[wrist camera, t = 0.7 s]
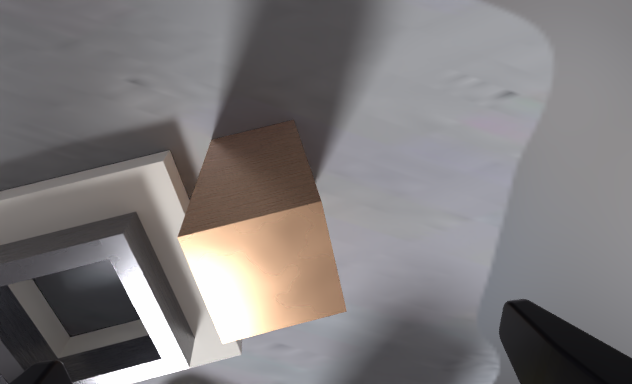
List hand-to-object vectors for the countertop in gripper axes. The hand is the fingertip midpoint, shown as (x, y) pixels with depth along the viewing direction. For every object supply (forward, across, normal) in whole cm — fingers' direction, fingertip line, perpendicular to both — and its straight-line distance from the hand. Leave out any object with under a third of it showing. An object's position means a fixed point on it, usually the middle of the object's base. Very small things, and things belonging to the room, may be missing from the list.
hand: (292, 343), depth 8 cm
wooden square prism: (+12, +1, +1) cm, 13 cm away
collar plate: (+12, +10, +7) cm, 17 cm away
